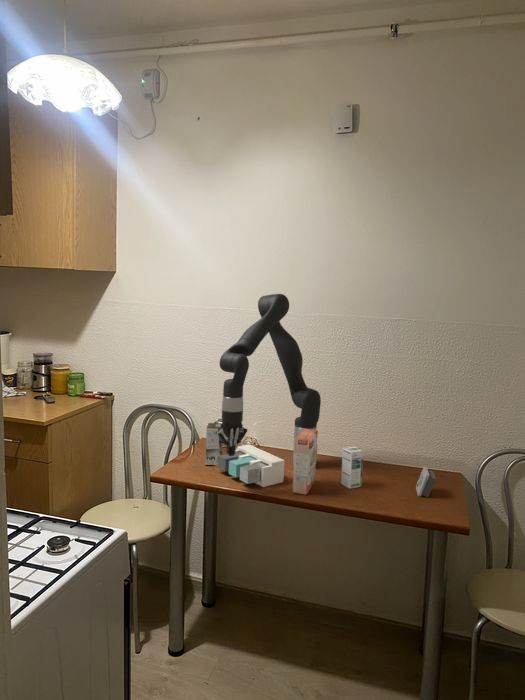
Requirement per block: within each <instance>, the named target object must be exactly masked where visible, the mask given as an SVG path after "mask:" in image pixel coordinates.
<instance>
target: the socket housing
mask: <svg viewBox="0 0 525 700" xmlns="http://www.w3.org/2000/svg"><path fill="white" fill-rule="evenodd" d="M236 447H237V448H236V449H235V452H241V453H243V454H245V455H240V456H239V459H241V458H246V457H252V458H254V459H256V460H253V461H250V465H251V464H255V463H260V462H262V463H264V464H266V465H268V466H264V467H262V469H261V481H258V482H254V484H256V485H258V486H260V487H262V488H265V487H269V486H273V485H276V484H280V483H284V481H285V479H284V475H285V459H283V458H280V457H279V456H276V455H273V454H272V453H269V452H268V451H267V452H266V451H264V450H262V449H260V448H258V447H255V446H253V445H251V444H244V445H240V446H239V445H238V446H236Z"/></svg>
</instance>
